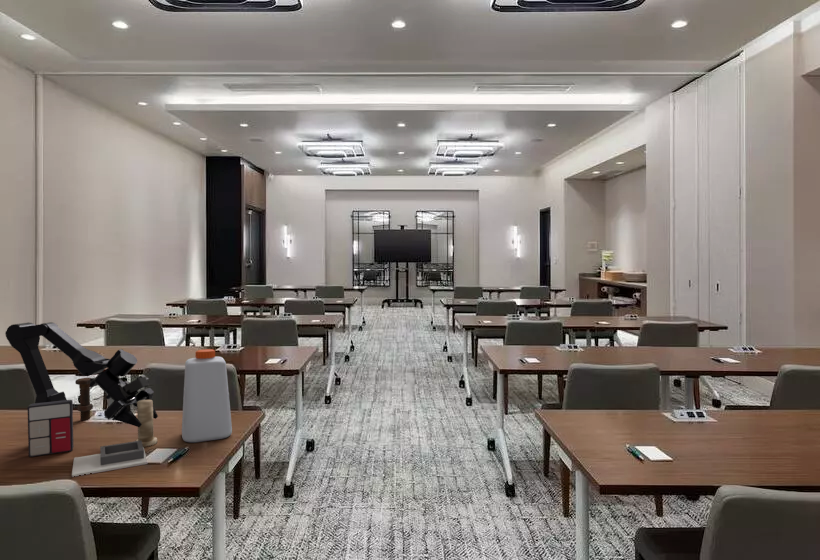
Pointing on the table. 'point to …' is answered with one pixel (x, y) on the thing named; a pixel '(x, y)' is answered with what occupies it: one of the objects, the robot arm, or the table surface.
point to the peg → (146, 423)
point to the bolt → (84, 398)
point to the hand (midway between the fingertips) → (148, 421)
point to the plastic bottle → (206, 398)
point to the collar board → (111, 458)
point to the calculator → (50, 427)
